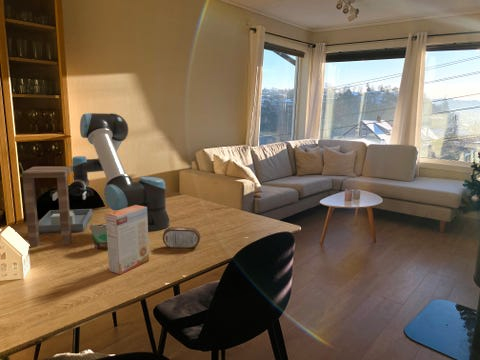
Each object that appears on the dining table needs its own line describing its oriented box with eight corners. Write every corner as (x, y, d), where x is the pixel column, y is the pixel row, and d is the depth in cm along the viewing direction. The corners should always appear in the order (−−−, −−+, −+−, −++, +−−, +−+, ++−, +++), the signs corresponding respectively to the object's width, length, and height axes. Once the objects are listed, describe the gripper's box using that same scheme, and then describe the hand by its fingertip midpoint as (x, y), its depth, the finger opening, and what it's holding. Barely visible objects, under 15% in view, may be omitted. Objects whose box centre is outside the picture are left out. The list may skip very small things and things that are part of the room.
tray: (83, 231, 160) (83, 223, 160) (35, 233, 156) (34, 225, 155) (92, 215, 183) (91, 208, 182) (50, 217, 178) (49, 210, 178)
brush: (72, 226, 163) (72, 215, 162) (51, 227, 161) (50, 216, 160) (79, 215, 179) (79, 206, 178) (60, 216, 177) (59, 206, 176)
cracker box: (137, 257, 135) (136, 203, 131) (149, 261, 132) (148, 206, 128) (107, 271, 123) (104, 213, 119) (119, 275, 121) (117, 216, 116)
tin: (200, 246, 148) (200, 226, 146) (199, 249, 145) (199, 229, 143) (163, 245, 147) (163, 226, 145) (162, 248, 144) (161, 228, 142)
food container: (92, 253, 137) (90, 228, 135) (90, 247, 143) (89, 223, 141) (125, 248, 143) (124, 224, 141) (122, 243, 148) (121, 220, 146)
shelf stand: (69, 245, 145) (64, 172, 138) (28, 247, 141) (21, 172, 135) (77, 233, 158) (72, 166, 152) (39, 235, 154) (33, 166, 148)
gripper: (101, 193, 199) (96, 203, 179) (52, 194, 194) (41, 205, 173) (101, 180, 198) (95, 189, 178) (51, 181, 192) (39, 190, 172)
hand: (68, 197), depth 175 cm, fingers open, 13 cm apart
